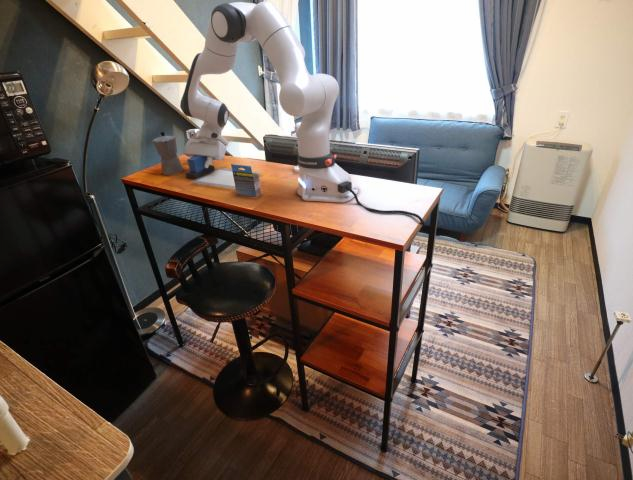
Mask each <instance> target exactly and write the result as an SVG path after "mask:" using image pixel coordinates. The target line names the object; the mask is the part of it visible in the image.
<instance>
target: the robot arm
mask: <svg viewBox="0 0 633 480" xmlns="http://www.w3.org/2000/svg"><path fill="white" fill-rule="evenodd" d="M204 39H205V41H204V47H203V50H202V51H201V52H199V53H196V54H195V56H194V58H193V60H192V62H191V66H190V69H189V73H188V76H187V80H186V84H185V87H184V91H183V94H182V96H181V99H180V105H179V107H180V110H181V111H182V113H183V114H184V116H186V117H189V118H193V119H197V120H200V121H201V122H203V124H202V125H201V126H200V128H199V129H200V131H199V134H198V137H192V138H190V139H189V140H188V139H187V142H186V143H185V145H184V147H183V149H182V154H183V155H184V156H185V157H187V158H192V157H194V156H197V155H199V156H206V157H207V159H208V160H207V161H206V162H205V163H204V164H203V167H204V168H208V166H209V165H212V163H213V162H214V161H223V160H224V159H225V156H226V152H227V146H228V145H229V142H228V140H227V139H226V138H224V136H222V132H223V129H224V128H225V126H226V125H227V123H228V120H229V115H230V112H229V107H228V106H227V105H226V103H224V102H223V101H220V100H218V99H215V98H212V97H210V96H206V95H203V94H201V93H200V92H199V91H198V88H199V85H200V82H201V78H202V77H203V76H205V75H223V74H226V73H228V72H230V71H231V70H232V69H233V68H234V65H235V63H236V59H237V54H238V53H237V52H238V45H239V43H250V42H254V41H257V42H258V43H259V46H260V48H261V49H262V50H263V53H264V54H265V55H266V57H267V58H268V60H269V62H270V64H271V65H272V67H273V69H274V71H275V74H276V76H277V78H278V83H279V88H280V90H279V94H278V101H279V104H280V107H281V109H282V110H283V112H285V114H287V115H289V116H292V117H302V118H301V121H300V122H301V124H300V126H299V128H298V131H297V132H296V139H297V151H298V153H297V165H298V166H299V173H298V174H299V175H298V176H299V177H298V178H297V179H298V186H297V190H296V192H297V194H298V195H299V196H300V197H301V199H302V201H306V202H321V203H322V202H326V203H343V204H344V203H346V202H349V201H351V200H353V199H354V200H355V202H356V203H357V204H358V206H360V207H362V208H363V209H364V210H366V211H369V212H373V213H378V214H404V215H408V216H412V217H416V218H417V219H418V220H419V221H420V223H421V224H422V226H427V224H426V222H425V221H424V219H423V218H422V217H421V216H420V215H419V214H418V213H415V212H410V211H407V210H397V209H396V210H382V209H376V208H372V207H371V208H370V207H367V206H365V205H363V204H362V203H361V201H359V198H358V194H359V193H358V192H359V187H358V186H357V185H354V184H353V182H352V178H351V175H350V174H349V173H348V172H347V171H346V170H344V169H343V168H342V167H341V166H340V165H338V164H337V163H336V159H337V158H338V157H337V154H334V155H333V154H332V152H331V149H330V147H331V145H330V143H331V142H330V140H331V139H330V130H331V123H332V117H333V111H334V107H335V103H336V102H337V99H338V97H339V94H340V86H339V83H338V81H337V80H336V78H335V77H334V76H333V75H330V74H327V73H323V72H322V73H321V72H320V73H315V74H311V73H310V72H309V71H308V68H307V65H306V62H305V58H306V50H305V48H304V46H303V44H302V43H301V41H300V39H299V38H298V36H297V35H296V32H295V31H294V29H293V27H292V26H291V25H290V23H289V21H288V20H287V18H286V17H285V15H284V14H283V13H282V12H281V10H280V9H279V8H278V7H277V6H276V5H275V4H274V3H273V2H271V1H269V0H264V1H260V2H245V1H244V2H243V1H235V2H229V3H228V2H225V3H220V4H218V5H217V6H215V7H214V8H213V9H212V11H211V15H210V18H209V20H208V24H207V28H206V34H205V38H204ZM429 259H430V258H425V267H424V277H423V286H422V292H421V298H420V304H419V310H418V318H417V326H418V327H420V326H421V321H422V312H423V307H424V306H423V305H424V301H425V300H424V299H425V293H426V287H427V279H428V272H429V261H430V260H429Z"/></svg>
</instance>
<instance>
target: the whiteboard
mask: <svg viewBox="0 0 633 480" xmlns="http://www.w3.org/2000/svg"><path fill="white" fill-rule="evenodd" d="M252 173H256V174H258V175H260V174H261V172H254V171H252ZM192 183H194V184H200V185H208V186H215V187H219V188H220V187H221V188H226V189H233V190H236V187H235V182H234V177H233V172H232V168H231V169H230V168H222V167H220V168H217V169H215V170H214V171H212V172H210V173H208V174H206V175H204V176H202V177H200V178H198V179H196V180H195V179H194V180H193V181H192Z"/></svg>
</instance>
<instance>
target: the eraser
mask: <svg viewBox="0 0 633 480" xmlns="http://www.w3.org/2000/svg"><path fill="white" fill-rule="evenodd" d="M186 160H187V165H188V169H189V171H188V172H185V176H186V179H189V180H194V181H195V180H197V179H199V178H201V177H203V176H205V175H207V174H209V173H211V172H213V171H215V170H216V169H215V166H214V165H212V164H210V165H209V166H208V168H204V167H203V164H204V163H205V162H206V161H207V160H208V159H207V157H206V156H199V155H197V156H194V157H192V158H190V157H188V159H186Z"/></svg>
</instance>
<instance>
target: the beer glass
mask: <svg viewBox="0 0 633 480" xmlns="http://www.w3.org/2000/svg"><path fill="white" fill-rule="evenodd" d="M200 129H201V128H192V129H187V130H186V131H185V133H186V139H187V141H188V140H189V139H190V138H192V137H198V134H199V131H200Z"/></svg>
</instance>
